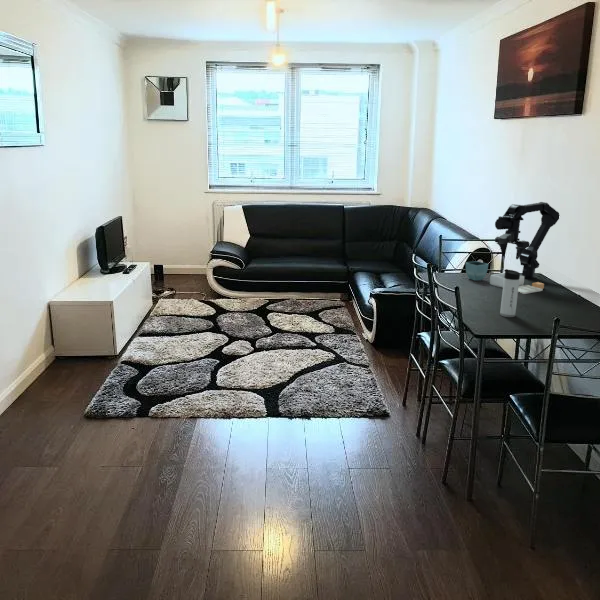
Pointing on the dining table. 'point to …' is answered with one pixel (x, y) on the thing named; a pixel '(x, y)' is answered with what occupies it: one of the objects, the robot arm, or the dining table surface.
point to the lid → (531, 288)
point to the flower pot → (476, 270)
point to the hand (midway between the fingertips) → (510, 257)
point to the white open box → (502, 280)
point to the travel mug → (510, 293)
